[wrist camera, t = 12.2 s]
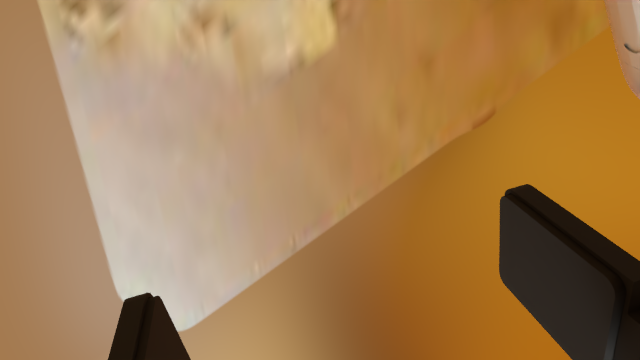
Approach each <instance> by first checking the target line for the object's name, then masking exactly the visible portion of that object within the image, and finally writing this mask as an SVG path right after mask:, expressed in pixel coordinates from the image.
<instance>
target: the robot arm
mask: <svg viewBox="0 0 640 360" xmlns="http://www.w3.org/2000/svg"><path fill="white" fill-rule="evenodd" d="M604 2H605V6H606V10H607V14H608V18H609V22H610V26H611V30H612V34H613V39H614V43H615V47H616V50H617V53H618V57H619V61H620V65H621V68H622V71H623V74H624V76H625V79H626V81H627V83H628V85H629V87H630V88H631V90H632V91H633V92H634V94H635V95H636V96H637V97H638V98H639V99H640V0H604ZM499 262H500V263H499V272H500V277H501V279H502V281H503V283H504V284H505V286H506V287H507V288H508V289H509V290H510V291H511V292H512V293H513V294H514V296H515V297H516V298H517V299H518V300H519V301H520V302H521V303H522V304H523V305H524V307H526V309H527V310H528V311H529V312H530V313H531V314H532V315H533V317H534V318H535V319H536V320H537V321H538V322H539V323H540V324H541V325H542V327H543V328H544V329H545V330H546V331H547V332H548V333H549V334H550V335H551V336H552V338H553V339H554V340H555V341H556V342H557V343H558V344H559V345H560V346H561V347H562V349H563V350H564V351H565V352H566V353H567V354H568V355H569V356H570V358H571V359H572V360H640V261H638V260H637V259H636V258H634V257H633V256H631V255H630V254H628V253H627V252H626V251H624V250H623V249H621V248H620V247H619V246H617V245H616V244H614V243H613V242H611V241H610V240H609V239H607V238H606V237H604V236H603V235H601V234H600V233H599V232H597V231H596V230H594V229H593V228H591V227H590V226H589V225H587V224H586V223H584V222H583V221H581V220H580V219H579V218H577V217H576V216H574V215H573V214H571V213H570V212H569V211H567V210H565V209H564V208H563V207H561V206H560V205H558V204H557V203H556V202H554V201H553V200H551V199H550V198H548V197H547V196H546V195H544V194H543V193H541V192H540V191H538V190H537V189H535V188H534V187H533V186H531V185H528V184H526V185H522V186H518V187H516V188H511V189H508V190H507V191H506V192H505V196H503V197H502V198H501V200H500V258H499ZM108 360H191V359H190V357H189V355H188V353H187V351H186V349H185V347H184V345H183V343H182V341H181V339H180V337H179V334H178V332H177V330H176V328H175V326H174V324H173V322H172V320H171V318H170V316H169V314H168V312H167V310H166V308H165V306H164V304H163V301H162V299H161V298H160V297H159V296H155V297H153V296H152V295H151V294H150V293H145V294H142V295H138V296H135V297H131V298H128V299H126V300H125V301H124V303H123V307H122V310H121V314H120V318H119V321H118V325H117V329H116V333H115V336H114V339H113V343H112V347H111V351H110V354H109V358H108Z"/></svg>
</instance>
